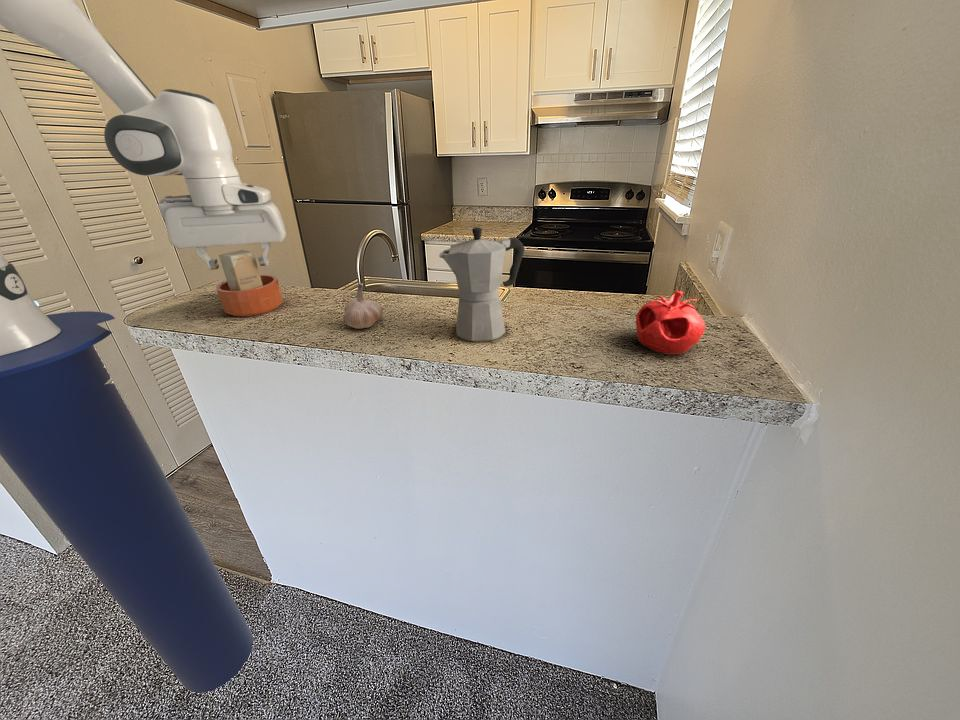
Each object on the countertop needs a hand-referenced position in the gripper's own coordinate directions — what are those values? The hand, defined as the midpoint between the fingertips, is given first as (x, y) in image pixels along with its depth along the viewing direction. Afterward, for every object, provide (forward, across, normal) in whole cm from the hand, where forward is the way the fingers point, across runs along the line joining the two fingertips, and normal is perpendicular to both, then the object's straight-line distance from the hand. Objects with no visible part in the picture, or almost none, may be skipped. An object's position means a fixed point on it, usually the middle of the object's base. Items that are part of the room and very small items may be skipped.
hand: (239, 267), depth 82 cm
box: (+8, 0, 0) cm, 9 cm away
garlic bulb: (+9, +24, -17) cm, 30 cm away
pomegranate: (+8, +71, -41) cm, 82 cm away
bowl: (+9, 0, 0) cm, 9 cm away
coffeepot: (+9, +45, -26) cm, 53 cm away
